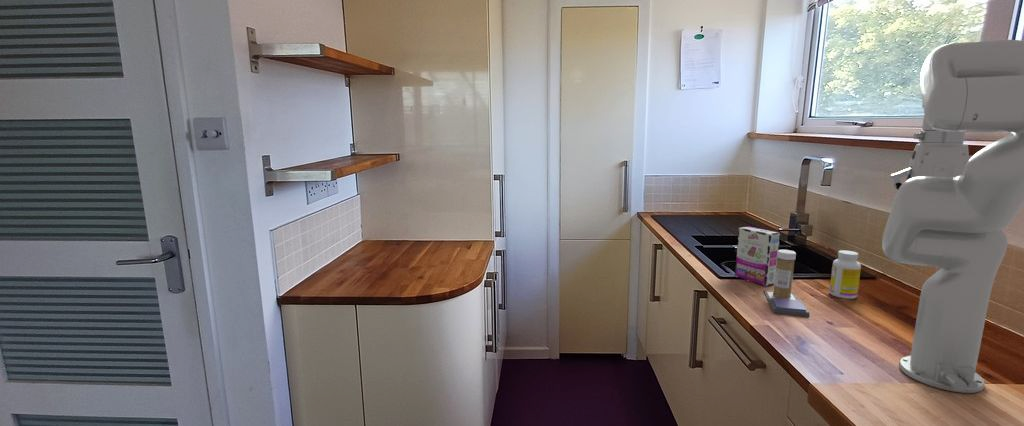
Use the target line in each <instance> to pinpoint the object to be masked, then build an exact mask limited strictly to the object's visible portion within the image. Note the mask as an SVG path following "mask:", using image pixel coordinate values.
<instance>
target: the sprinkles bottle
mask: <svg viewBox="0 0 1024 426" xmlns="http://www.w3.org/2000/svg"><path fill="white" fill-rule="evenodd" d="M796 256H797V253H796V252H795V251H794V250H789V249H779V250H778V252H777V266H776V273H775V282H774V286H773V291H774V293H773V296H775V297H777V298H780V299H789V298H791V293H792V288H793V287H792V286H793V281H794V280H793V279H794V269H795V261H796Z"/></svg>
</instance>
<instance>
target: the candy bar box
mask: <svg viewBox="0 0 1024 426" xmlns="http://www.w3.org/2000/svg"><path fill="white" fill-rule="evenodd" d="M737 234H738V235H737V246H736V248H737V249H736V259H735V260H736V261H735V271H734V277H735V276H738V277H739V278H738V277H737V278H738V279H742V280H744V281H747V280H748V282H750V281H751V282H750V283H754V284H757V285H760V286H763V287H769V286H772V285H774V282H775V273H776V266H777V252H778V250H780V238H781V232H778V231H772V230H768V229H762V228H757V227H753V226H743V227H738V233H737Z"/></svg>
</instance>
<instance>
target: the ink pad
mask: <svg viewBox="0 0 1024 426" xmlns="http://www.w3.org/2000/svg"><path fill="white" fill-rule="evenodd" d="M768 303H769V305H770V307H771V310H772V311H773V313H774V314H779V315H785V316H786V315H788V316H797V317H805V318H806V317H807V318H810V314H811V313H810V311H809V310H808V308H807V307H806V305H805V304H804V302H803V301H801V300H800V299H798V300H790V299H779V298H769V301H768Z"/></svg>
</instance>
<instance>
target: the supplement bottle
mask: <svg viewBox="0 0 1024 426" xmlns="http://www.w3.org/2000/svg"><path fill="white" fill-rule="evenodd" d="M837 256H838V258H836V259H834V260H833V262H832V267H831V277H830V285H829V293H830V295H832V296H834V297H836V298H840V299H843V300H844V299H845V300H853V299H854V300H855V299H856V298H857V297H858V294H859V293H858V292H859V287H860V279H861V278H860V277H861V272H862V271H861V270H862V265H861V263H860V262H859V261H857V260H858V259H859V253H858V252H856V251H852V250H844V249H843V250H842V249H841V250H839V251H838V252H837Z"/></svg>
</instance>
